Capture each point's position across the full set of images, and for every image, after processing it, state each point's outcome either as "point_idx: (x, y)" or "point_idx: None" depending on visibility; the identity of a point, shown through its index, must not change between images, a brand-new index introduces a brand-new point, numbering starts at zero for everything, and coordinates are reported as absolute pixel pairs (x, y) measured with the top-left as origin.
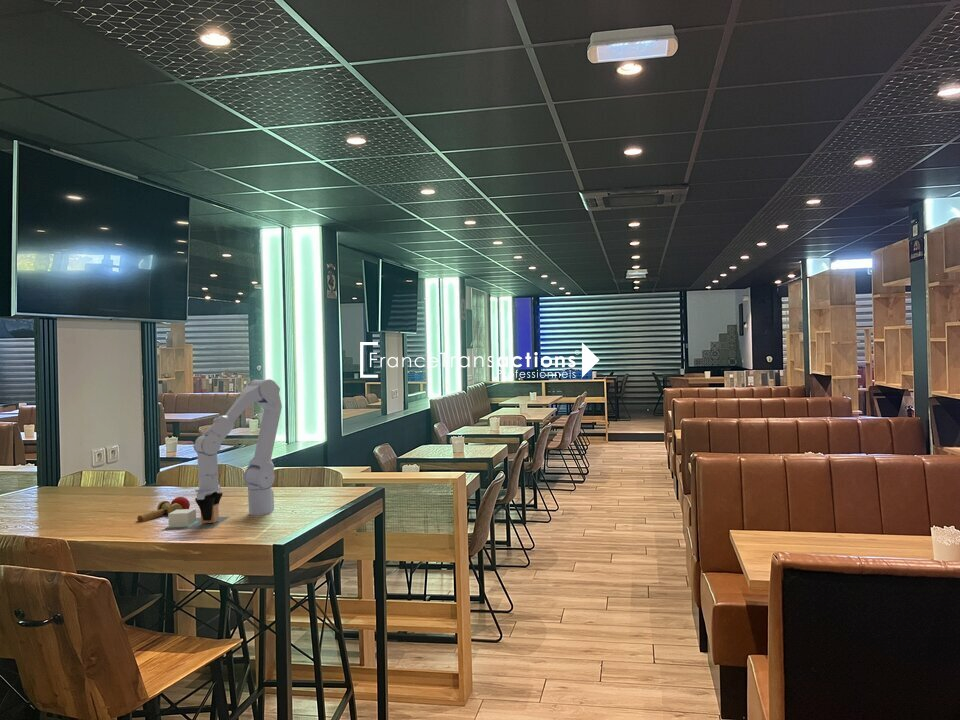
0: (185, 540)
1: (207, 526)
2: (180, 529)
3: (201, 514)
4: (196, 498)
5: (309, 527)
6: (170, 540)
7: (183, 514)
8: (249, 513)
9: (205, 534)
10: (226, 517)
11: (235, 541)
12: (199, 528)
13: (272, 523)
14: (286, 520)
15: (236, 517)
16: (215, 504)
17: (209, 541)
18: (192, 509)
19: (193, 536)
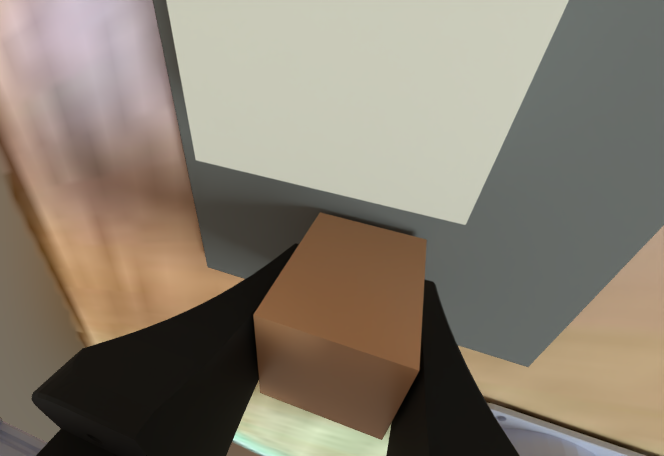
0: (42, 153)
1: (254, 246)
2: (173, 68)
3: (291, 260)
4: (41, 404)
5: (249, 445)
6: (5, 59)
7: (194, 90)
8: (515, 439)
9: (157, 231)
10: (503, 348)
11: (96, 312)
12: (206, 207)
13: (319, 422)
14: (353, 452)
15: (559, 380)
16: (348, 419)
17: (69, 249)
18: (445, 181)
19: (113, 180)
